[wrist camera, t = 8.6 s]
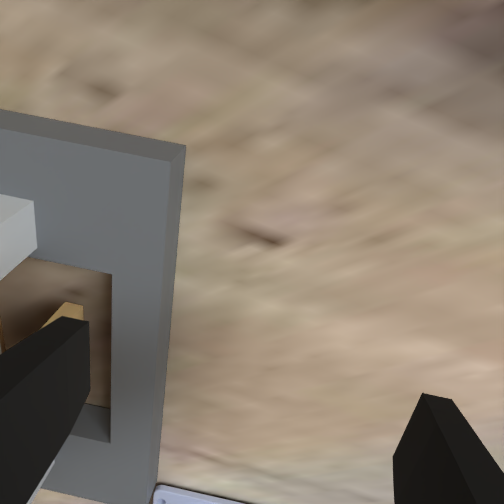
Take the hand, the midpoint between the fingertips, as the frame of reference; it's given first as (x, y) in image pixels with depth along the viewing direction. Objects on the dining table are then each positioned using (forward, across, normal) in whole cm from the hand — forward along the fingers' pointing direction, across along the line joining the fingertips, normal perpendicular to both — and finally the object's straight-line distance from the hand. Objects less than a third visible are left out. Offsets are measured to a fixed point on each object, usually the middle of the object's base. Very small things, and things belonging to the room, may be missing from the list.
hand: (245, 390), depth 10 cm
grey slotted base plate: (+9, +10, +8) cm, 16 cm away
